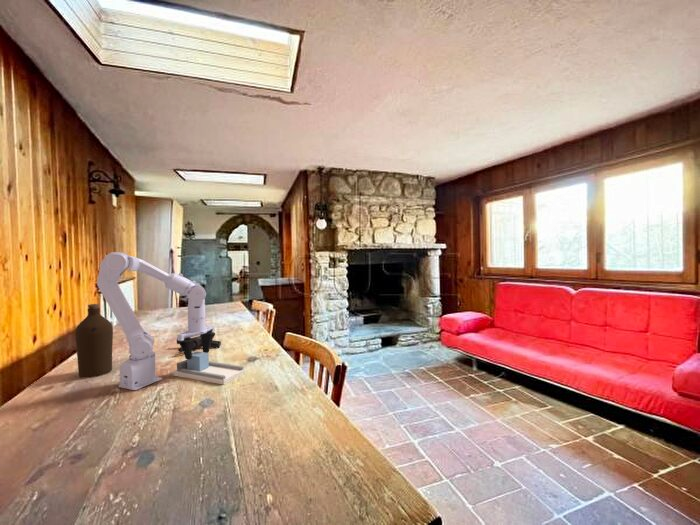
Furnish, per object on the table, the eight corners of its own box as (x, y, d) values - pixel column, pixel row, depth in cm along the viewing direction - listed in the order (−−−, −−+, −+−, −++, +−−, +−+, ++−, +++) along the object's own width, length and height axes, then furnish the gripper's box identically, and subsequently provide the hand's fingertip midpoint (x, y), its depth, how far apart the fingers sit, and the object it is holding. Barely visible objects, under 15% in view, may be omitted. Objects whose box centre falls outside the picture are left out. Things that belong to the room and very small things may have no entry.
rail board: (224, 384, 101) (223, 372, 101) (173, 375, 110) (173, 364, 110) (245, 373, 111) (244, 362, 111) (196, 365, 119) (196, 355, 119)
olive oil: (120, 369, 116) (118, 302, 115) (88, 380, 106) (85, 307, 105) (102, 366, 120) (100, 301, 119) (69, 376, 110) (67, 305, 109)
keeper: (199, 370, 109) (199, 356, 109) (187, 368, 111) (186, 354, 111) (208, 367, 113) (208, 353, 113) (196, 365, 115) (196, 351, 115)
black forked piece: (207, 346, 130) (222, 336, 145) (161, 341, 131) (182, 332, 146) (206, 358, 130) (221, 348, 145) (160, 354, 131) (181, 343, 146)
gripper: (187, 323, 103) (188, 363, 104) (220, 315, 117) (221, 350, 117) (172, 321, 106) (173, 360, 106) (206, 313, 119) (206, 348, 120)
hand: (197, 355), depth 112 cm, fingers open, 7 cm apart
